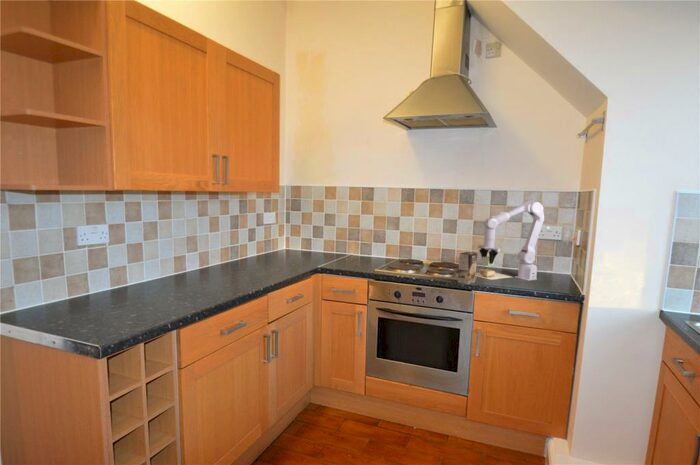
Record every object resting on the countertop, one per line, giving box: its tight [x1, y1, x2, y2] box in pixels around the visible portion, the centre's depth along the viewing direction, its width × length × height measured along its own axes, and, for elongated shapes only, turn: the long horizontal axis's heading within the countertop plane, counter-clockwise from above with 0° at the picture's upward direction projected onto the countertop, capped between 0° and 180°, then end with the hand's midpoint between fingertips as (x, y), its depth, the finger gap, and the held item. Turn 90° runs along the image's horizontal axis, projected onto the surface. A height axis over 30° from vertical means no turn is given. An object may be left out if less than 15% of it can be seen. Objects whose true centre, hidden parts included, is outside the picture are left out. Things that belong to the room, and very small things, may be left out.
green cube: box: [481, 255, 495, 267], centre depth 233 cm, size 4×4×4 cm
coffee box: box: [457, 251, 478, 286], centre depth 218 cm, size 9×6×16 cm
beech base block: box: [478, 268, 496, 279], centre depth 234 cm, size 6×6×4 cm
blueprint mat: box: [476, 272, 512, 281], centre depth 237 cm, size 16×19×1 cm
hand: (487, 262), depth 233 cm, fingers closed on green cube, 4 cm apart
